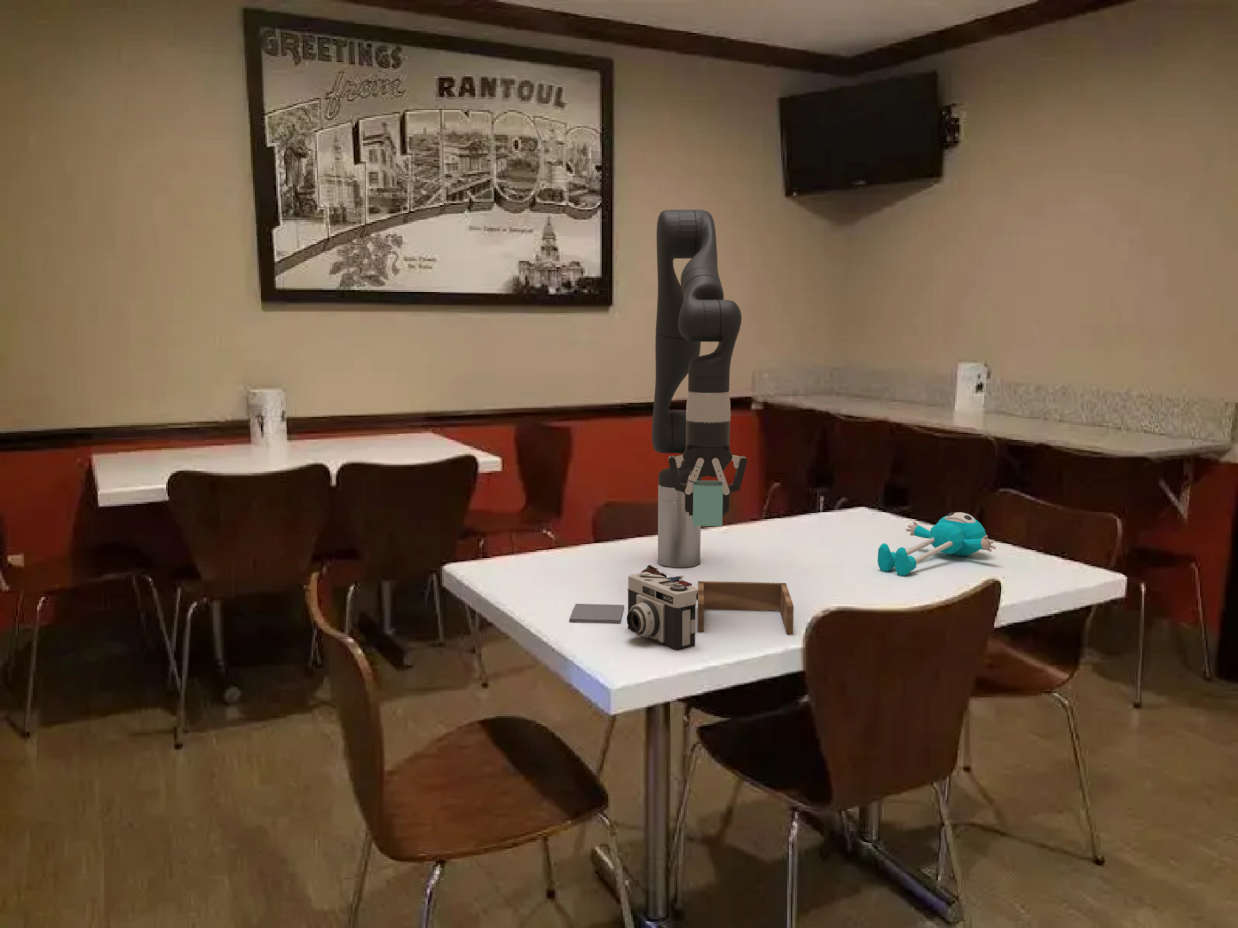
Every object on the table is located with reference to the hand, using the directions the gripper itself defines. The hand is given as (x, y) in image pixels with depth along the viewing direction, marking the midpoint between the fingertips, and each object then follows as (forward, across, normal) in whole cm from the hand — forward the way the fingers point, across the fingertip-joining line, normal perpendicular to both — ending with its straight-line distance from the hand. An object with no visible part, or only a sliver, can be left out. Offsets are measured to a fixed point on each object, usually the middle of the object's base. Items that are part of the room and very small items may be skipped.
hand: (706, 514), depth 169 cm
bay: (+19, -7, 0) cm, 20 cm away
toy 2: (+20, -51, -42) cm, 69 cm away
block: (+1, 0, 0) cm, 1 cm away
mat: (+19, +19, -2) cm, 27 cm away
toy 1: (+20, +6, -17) cm, 27 cm away
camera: (+19, +9, +11) cm, 24 cm away
